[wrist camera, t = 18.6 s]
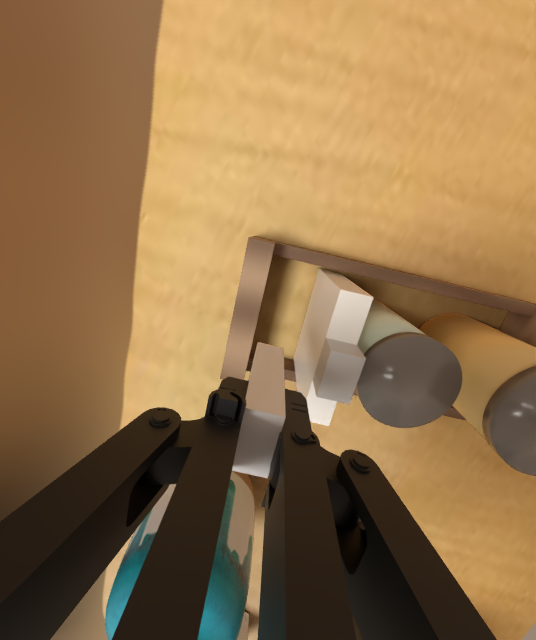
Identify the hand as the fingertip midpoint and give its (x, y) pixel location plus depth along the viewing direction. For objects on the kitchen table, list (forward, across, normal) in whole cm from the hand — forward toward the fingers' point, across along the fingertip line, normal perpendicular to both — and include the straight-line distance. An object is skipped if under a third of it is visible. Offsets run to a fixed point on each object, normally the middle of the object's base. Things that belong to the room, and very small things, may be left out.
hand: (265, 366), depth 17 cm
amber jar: (+12, -18, -1) cm, 21 cm away
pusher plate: (+12, -4, -1) cm, 13 cm away
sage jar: (+12, -9, -1) cm, 15 cm away
